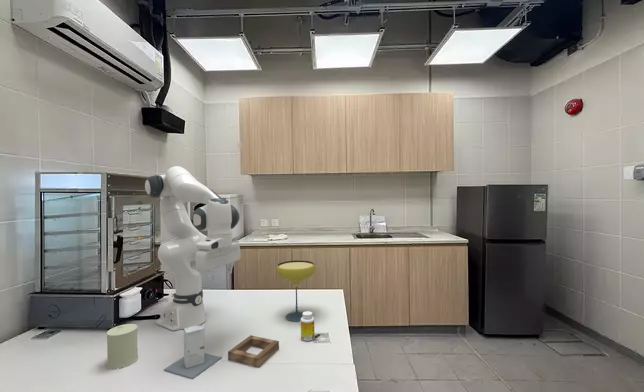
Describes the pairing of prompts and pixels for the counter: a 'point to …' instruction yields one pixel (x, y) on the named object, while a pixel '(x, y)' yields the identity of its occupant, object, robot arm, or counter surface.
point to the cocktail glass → (295, 279)
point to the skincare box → (193, 346)
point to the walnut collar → (248, 358)
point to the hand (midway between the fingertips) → (220, 277)
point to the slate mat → (192, 371)
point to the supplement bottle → (307, 326)
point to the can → (122, 346)
